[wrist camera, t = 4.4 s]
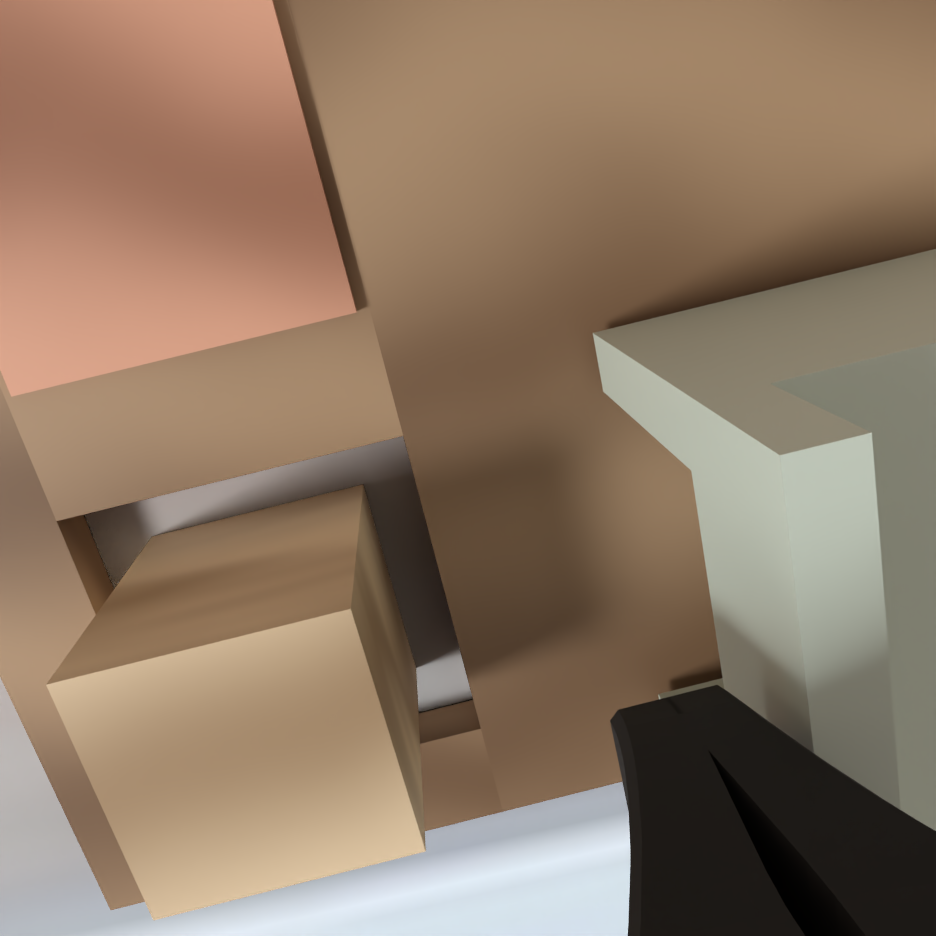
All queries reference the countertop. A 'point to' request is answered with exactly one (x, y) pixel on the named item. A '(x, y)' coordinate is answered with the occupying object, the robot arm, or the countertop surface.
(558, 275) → the puzzle board
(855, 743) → the sliding cover
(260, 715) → the maple block
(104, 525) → the countertop surface
